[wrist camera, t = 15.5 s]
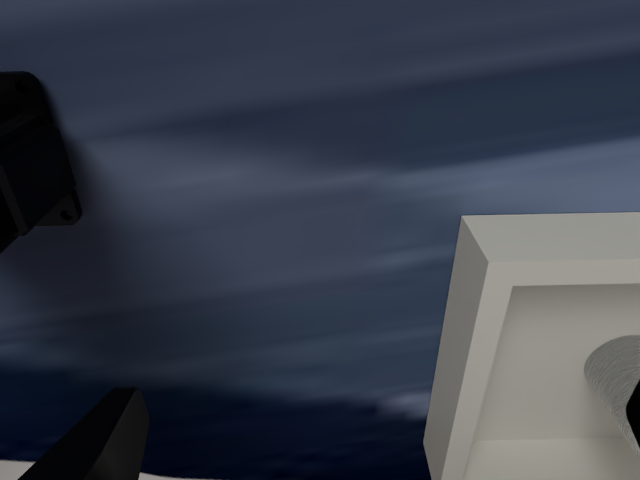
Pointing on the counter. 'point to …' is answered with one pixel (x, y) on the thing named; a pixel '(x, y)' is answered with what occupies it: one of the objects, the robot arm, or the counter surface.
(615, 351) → the metal pin
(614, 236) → the tray
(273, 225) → the counter surface
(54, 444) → the robot arm
